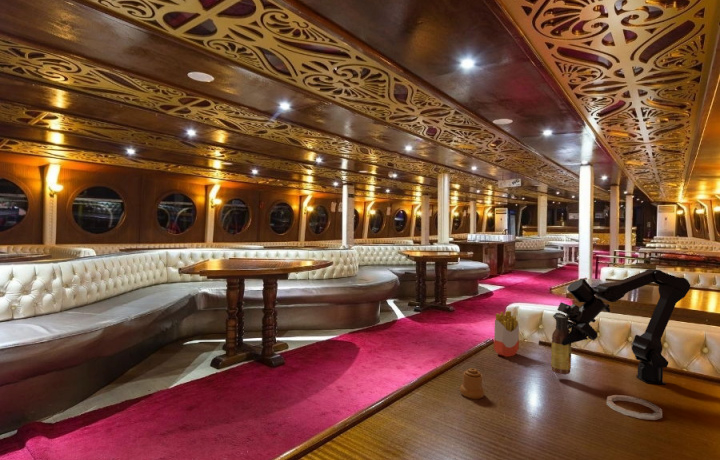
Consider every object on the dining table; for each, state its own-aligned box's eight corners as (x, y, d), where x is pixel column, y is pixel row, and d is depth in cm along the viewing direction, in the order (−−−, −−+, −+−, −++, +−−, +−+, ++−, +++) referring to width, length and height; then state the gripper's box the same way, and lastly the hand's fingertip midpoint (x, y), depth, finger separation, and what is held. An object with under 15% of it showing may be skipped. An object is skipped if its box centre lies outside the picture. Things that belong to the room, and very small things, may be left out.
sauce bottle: (573, 376, 134) (575, 319, 133) (553, 374, 135) (556, 318, 134) (566, 369, 140) (569, 315, 140) (548, 367, 141) (550, 313, 141)
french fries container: (519, 354, 164) (520, 312, 165) (502, 358, 159) (504, 314, 159) (510, 351, 168) (511, 310, 168) (493, 354, 163) (495, 312, 163)
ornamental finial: (466, 387, 127) (488, 395, 122) (455, 394, 121) (477, 402, 116) (467, 363, 127) (489, 369, 122) (456, 369, 121) (478, 375, 116)
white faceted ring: (643, 400, 121) (643, 397, 121) (673, 421, 108) (673, 417, 108) (598, 397, 122) (598, 393, 122) (622, 417, 109) (622, 413, 109)
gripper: (558, 291, 147) (529, 319, 146) (589, 300, 128) (556, 332, 128) (578, 312, 147) (549, 340, 147) (612, 323, 129) (579, 356, 128)
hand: (557, 341), depth 137 cm, fingers closed on sauce bottle, 6 cm apart
